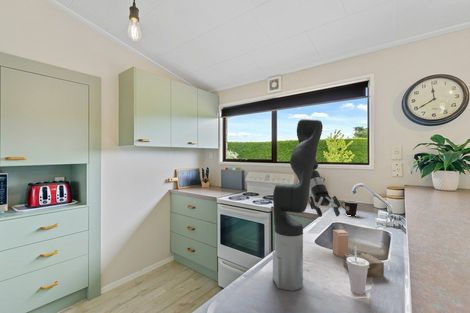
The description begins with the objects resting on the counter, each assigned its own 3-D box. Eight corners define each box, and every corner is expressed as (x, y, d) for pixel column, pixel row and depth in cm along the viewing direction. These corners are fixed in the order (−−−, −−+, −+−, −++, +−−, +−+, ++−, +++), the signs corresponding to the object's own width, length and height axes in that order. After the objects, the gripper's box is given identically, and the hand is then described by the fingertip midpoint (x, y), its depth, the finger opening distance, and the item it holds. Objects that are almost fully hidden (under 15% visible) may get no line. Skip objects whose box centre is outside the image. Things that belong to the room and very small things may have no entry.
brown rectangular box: (357, 278, 77) (357, 263, 77) (343, 267, 85) (343, 253, 85) (383, 276, 79) (383, 262, 79) (367, 265, 87) (367, 252, 87)
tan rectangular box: (338, 256, 94) (338, 233, 94) (332, 252, 98) (332, 229, 98) (348, 256, 94) (348, 232, 94) (342, 252, 98) (342, 229, 98)
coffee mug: (360, 217, 157) (360, 203, 157) (347, 217, 157) (347, 202, 157) (351, 212, 169) (351, 199, 169) (340, 212, 169) (340, 199, 169)
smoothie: (348, 283, 74) (348, 241, 74) (370, 290, 70) (371, 246, 70) (343, 292, 70) (344, 247, 70) (367, 300, 65) (367, 253, 65)
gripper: (307, 183, 113) (318, 212, 101) (333, 183, 114) (347, 211, 103) (302, 192, 118) (312, 220, 107) (328, 192, 120) (340, 219, 108)
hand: (329, 215), depth 105 cm, fingers open, 8 cm apart
